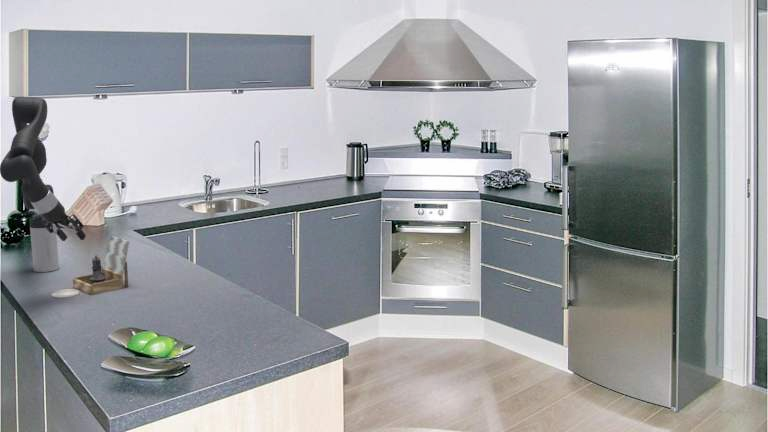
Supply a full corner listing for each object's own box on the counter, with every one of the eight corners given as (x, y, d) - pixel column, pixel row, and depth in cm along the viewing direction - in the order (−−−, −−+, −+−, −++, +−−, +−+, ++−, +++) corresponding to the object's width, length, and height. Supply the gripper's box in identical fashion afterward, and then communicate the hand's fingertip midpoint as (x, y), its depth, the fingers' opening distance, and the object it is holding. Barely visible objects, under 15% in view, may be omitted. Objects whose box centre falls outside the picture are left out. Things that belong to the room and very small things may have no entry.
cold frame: (73, 287, 295) (69, 241, 292) (113, 279, 306) (110, 235, 303) (91, 294, 285) (87, 247, 282) (132, 286, 296) (129, 240, 293)
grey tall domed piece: (89, 290, 291) (86, 257, 289) (90, 286, 296) (87, 253, 294) (106, 289, 292) (104, 256, 290) (107, 284, 298) (105, 252, 296)
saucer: (47, 294, 286) (47, 292, 286) (72, 289, 292) (72, 287, 292) (58, 299, 280) (58, 297, 280) (83, 294, 286) (83, 292, 286)
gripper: (69, 196, 275) (95, 230, 285) (37, 198, 281) (64, 231, 291) (57, 212, 270) (84, 246, 280) (25, 214, 276) (53, 247, 286)
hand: (74, 238), depth 285 cm, fingers open, 8 cm apart
